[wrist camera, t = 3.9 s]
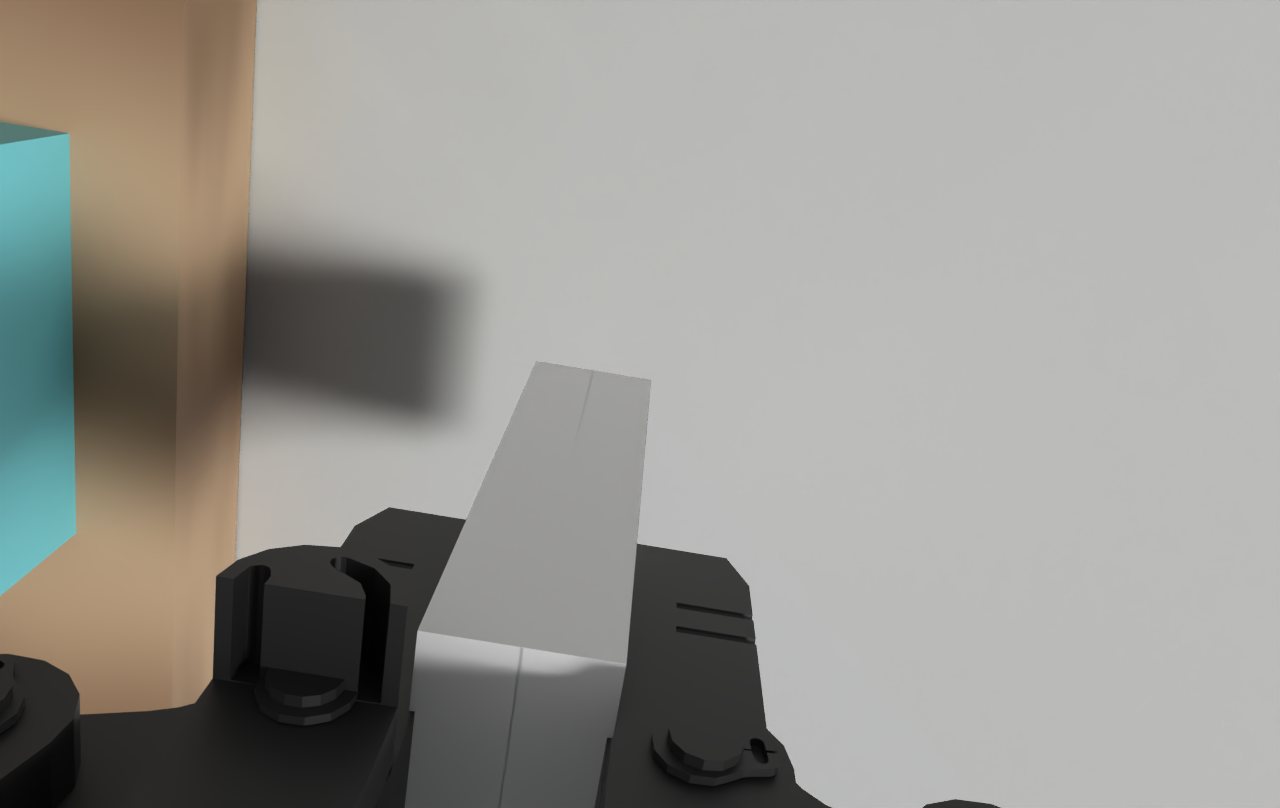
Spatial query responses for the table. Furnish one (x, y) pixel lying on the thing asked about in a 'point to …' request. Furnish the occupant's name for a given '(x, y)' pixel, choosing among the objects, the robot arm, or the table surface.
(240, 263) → the wooden board
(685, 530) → the table surface
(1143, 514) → the table surface
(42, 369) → the turquoise flat block
